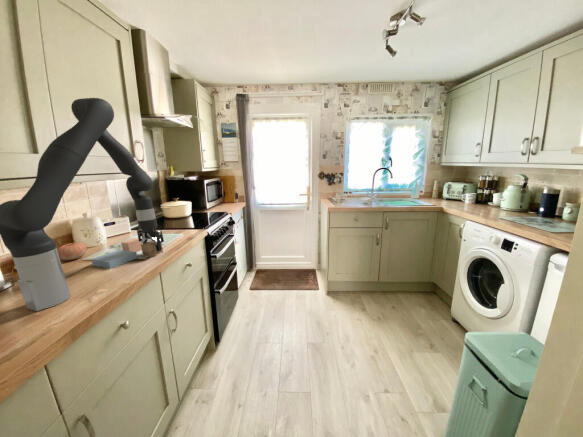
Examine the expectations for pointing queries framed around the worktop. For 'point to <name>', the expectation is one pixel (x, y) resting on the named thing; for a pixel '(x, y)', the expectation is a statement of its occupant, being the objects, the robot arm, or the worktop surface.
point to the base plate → (114, 259)
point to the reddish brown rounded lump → (71, 251)
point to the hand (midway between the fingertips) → (153, 250)
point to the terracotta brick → (132, 245)
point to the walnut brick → (150, 249)
